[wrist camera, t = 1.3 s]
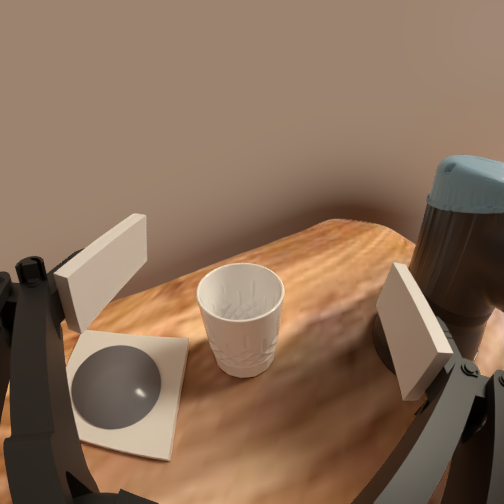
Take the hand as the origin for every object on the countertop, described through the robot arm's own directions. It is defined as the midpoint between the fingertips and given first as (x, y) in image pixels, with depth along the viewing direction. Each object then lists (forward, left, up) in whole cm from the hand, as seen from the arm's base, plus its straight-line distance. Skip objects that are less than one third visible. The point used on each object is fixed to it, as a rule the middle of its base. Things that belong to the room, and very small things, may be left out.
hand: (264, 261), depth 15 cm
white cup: (+2, -8, -19) cm, 21 cm away
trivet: (+16, -2, -19) cm, 25 cm away
